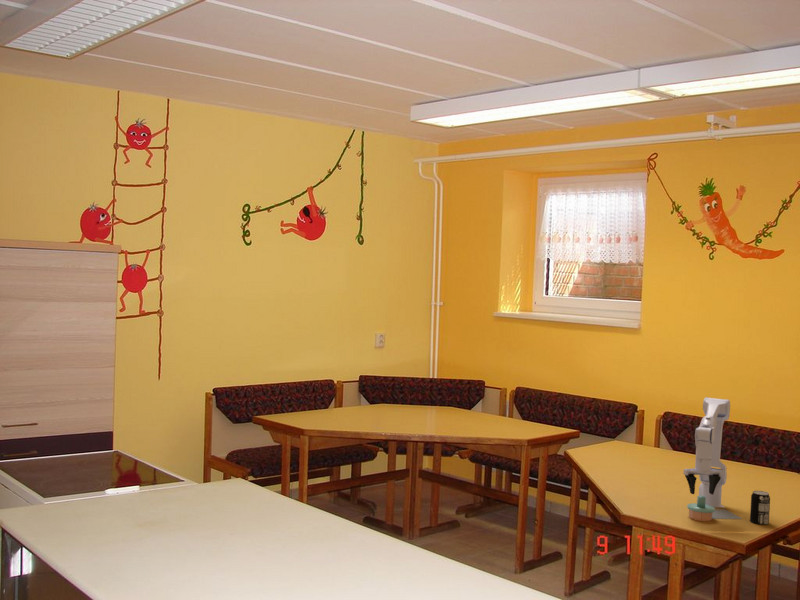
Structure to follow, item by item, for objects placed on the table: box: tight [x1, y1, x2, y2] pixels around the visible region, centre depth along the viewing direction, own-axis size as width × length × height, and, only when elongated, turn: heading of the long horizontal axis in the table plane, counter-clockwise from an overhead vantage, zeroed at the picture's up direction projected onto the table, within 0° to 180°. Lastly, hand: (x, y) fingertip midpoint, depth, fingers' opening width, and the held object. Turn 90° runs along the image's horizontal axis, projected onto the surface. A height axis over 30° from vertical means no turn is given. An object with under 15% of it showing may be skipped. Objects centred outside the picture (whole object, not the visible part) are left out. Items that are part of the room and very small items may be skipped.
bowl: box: [688, 509, 713, 522], centre depth 313 cm, size 8×8×4 cm
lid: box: [686, 495, 716, 513], centre depth 313 cm, size 10×10×5 cm
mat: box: [712, 508, 743, 520], centre depth 320 cm, size 13×12×1 cm
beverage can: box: [749, 490, 771, 526], centre depth 310 cm, size 7×7×12 cm
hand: (701, 493), depth 313 cm, fingers open, 7 cm apart
